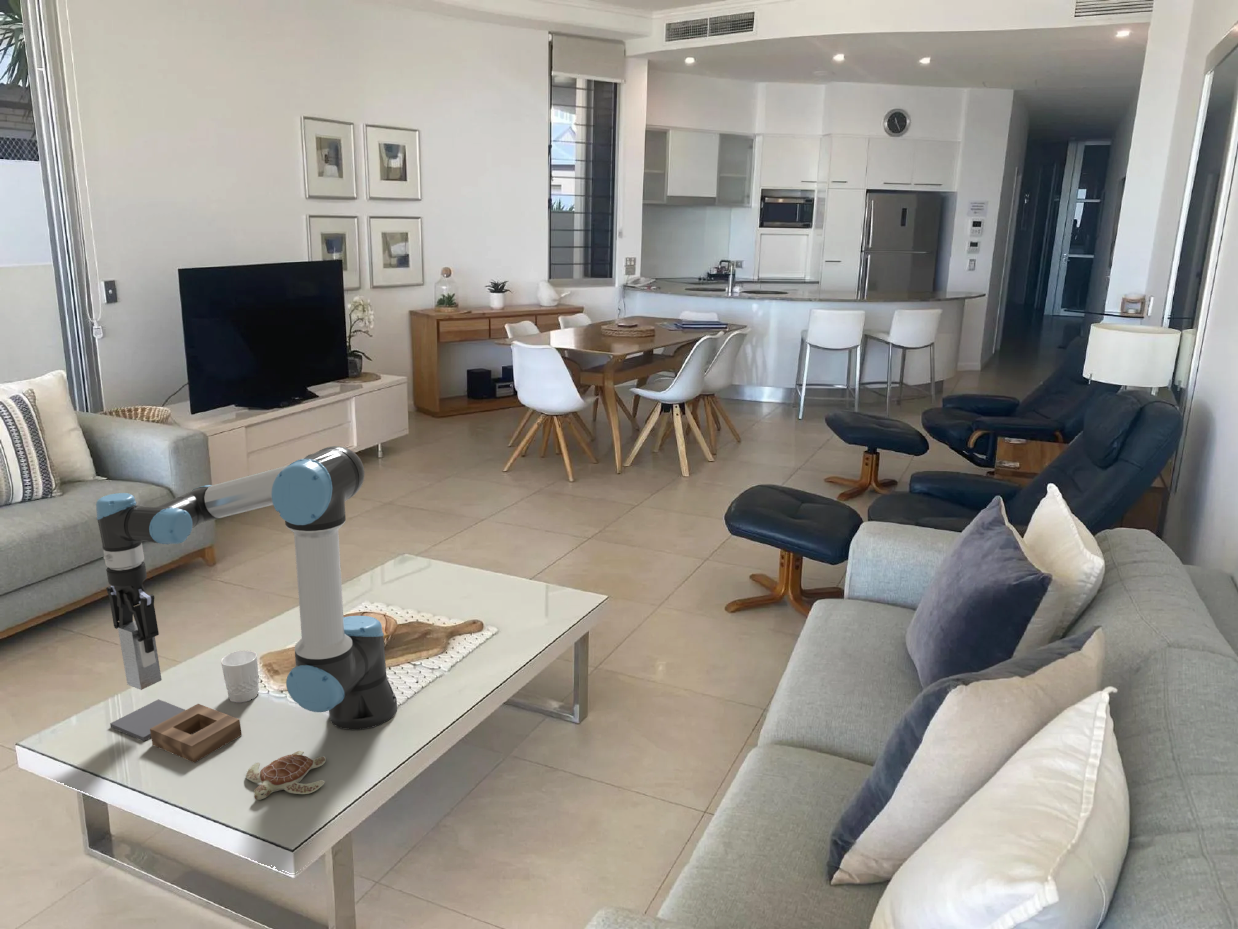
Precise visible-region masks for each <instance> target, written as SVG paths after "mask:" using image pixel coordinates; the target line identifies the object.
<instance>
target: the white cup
mask: <svg viewBox="0 0 1238 929" xmlns="http://www.w3.org/2000/svg"><path fill="white" fill-rule="evenodd" d="M220 663H221V668H222V673H223V679H224V683H225V688H226V690H227V695H228V699H229V701H230V702H232V703H235V704H236V703H238V704H239V703H247V702H249V701H252V700H254V699H255V697H256V696H257V694H258V691H259V692H260V688H259V683H260V682H259V681H260V680H259V667H258V665H259V664H258V655H257V652H255V651H252V650H236V651H233V652H230V653H228V654H226V655H224V656H223V657H222V658H221V660H220ZM258 695H259V694H258ZM257 697H258V696H257ZM257 697H256V698H257ZM251 699H252V700H251Z"/></svg>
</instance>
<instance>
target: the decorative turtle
mask: <svg viewBox="0 0 1238 929" xmlns="http://www.w3.org/2000/svg"><path fill="white" fill-rule="evenodd" d="M304 753H305V751H304V750H298V751H296V752H294V753H292V754H287V755H285V756H281V757H279V758H277V759H275V760H273V761H271V762H270V763H269V764H268V765H266V766H264V767H263V768H262V769H261V770H260V771H259V768H260V765H261V763H260V762H255V763H254V764H252V765H251V766H250V767H249V768H248V770H247V771H246V774H245V777H246V779H247V780H248V781H249V782H252V783H255V784H259V785H258V786H257V787H256V788H254V790H253V793H254V796H253V798H254V799H255V800H257V801H260V800H261V801H262V800H263V799H266V798H267V797H269V796H270V795H271V794H272V793H274V792H278V791H285V792H286V793H289V794H295V795H296V794H298V795H309V794H311V793H315V792H316V791H317V790H319V789H320V788H321V787H323V786H324V784H325V782H326V781H324V780H321V779H320V780H317V781H313V782H310V783H302V782H301V781H302V780H303V779H304V777H305V776H306V775H307V774H308V773H309V771H310V770H312V769H317V768H321V767H322V766H323V765H324V764H326V763H325V762H326V761H327V760H326V759H327V758H326V757H325V756H319V757H318V756H317V757H316V758H313V759H312V758H310V757H309V756H306V755H304ZM300 782H301V783H300Z"/></svg>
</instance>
